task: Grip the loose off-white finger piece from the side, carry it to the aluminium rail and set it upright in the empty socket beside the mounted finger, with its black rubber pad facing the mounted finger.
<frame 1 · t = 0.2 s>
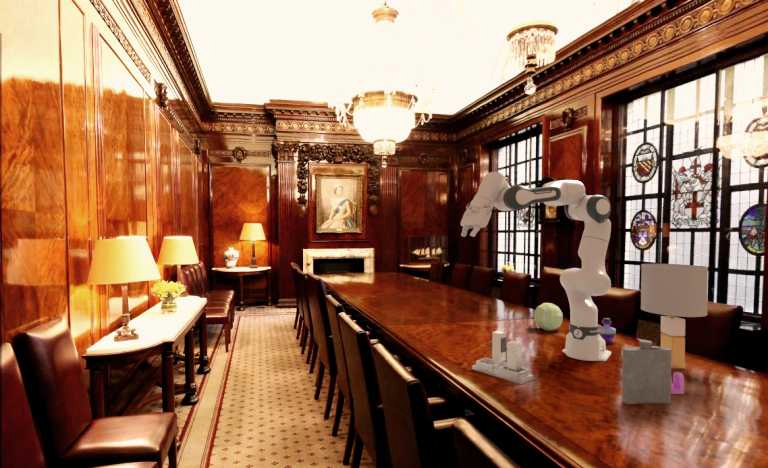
hand: (467, 236, 176), 54 cm above the table, tool tilted 25°, fingers open, 8 cm apart
finger rail: (501, 374, 165), on the table
hip flask: (645, 401, 139), on the table
bracket: (664, 387, 152), on the table
potion bottle: (606, 342, 213), on the table
loose finger: (498, 359, 183), on the table
lamp: (672, 366, 176), on the table
decorative sphere: (548, 330, 238), on the table
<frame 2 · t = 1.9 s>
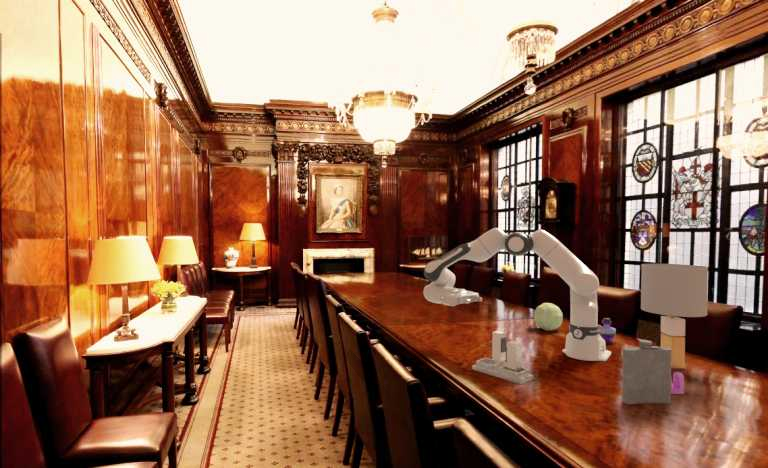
hand: (475, 300, 192), 24 cm above the table, tool horizontal, fingers open, 8 cm apart
nothing on the table moved.
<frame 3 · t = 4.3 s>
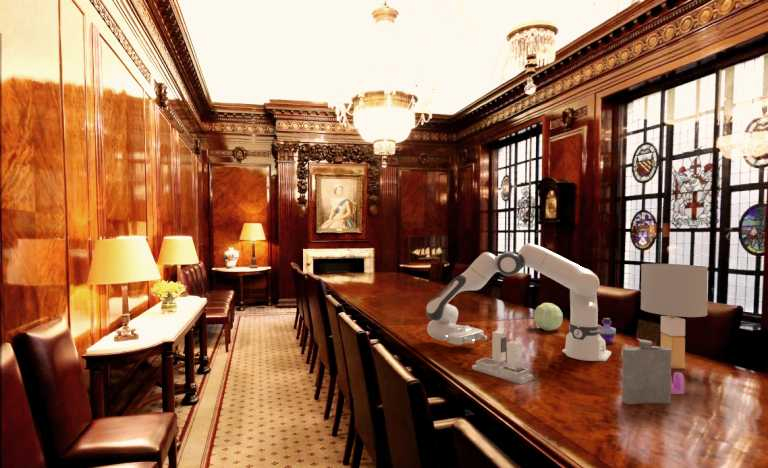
hand: (480, 339, 190), 7 cm above the table, tool horizontal, fingers open, 8 cm apart
nothing on the table moved.
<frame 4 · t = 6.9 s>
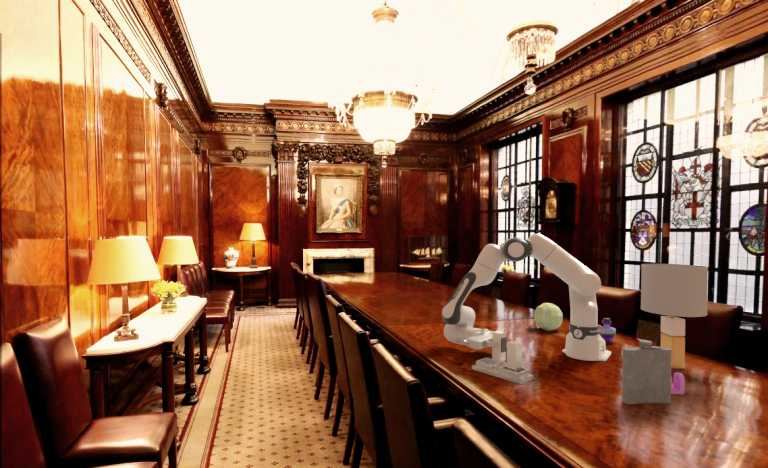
hand: (500, 344, 182), 7 cm above the table, tool horizontal, fingers closed on loose finger, 4 cm apart
loose finger: (498, 359, 183), on the table, touching gripper
everything else where it was.
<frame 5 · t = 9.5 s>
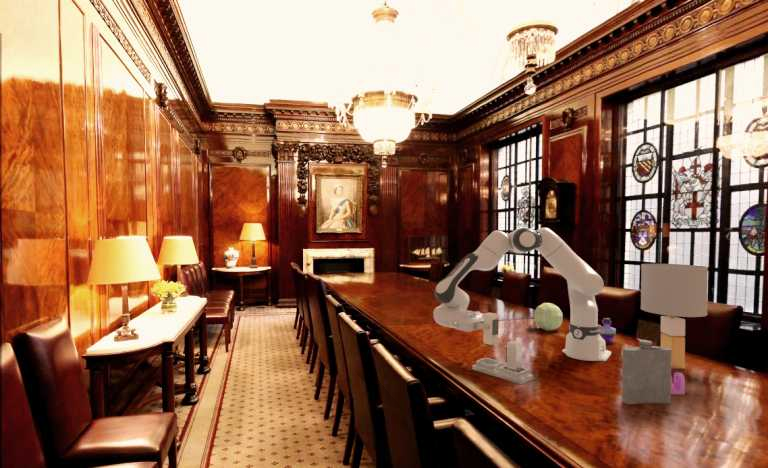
hand: (492, 326, 171), 17 cm above the table, tool horizontal, fingers closed on loose finger, 4 cm apart
loose finger: (490, 343, 171), point 10 cm above the table, touching gripper
everything else where it was.
when the fingers open (9 cm above the table, at t = 12.0 s): loose finger stays where it is, resting on finger rail.
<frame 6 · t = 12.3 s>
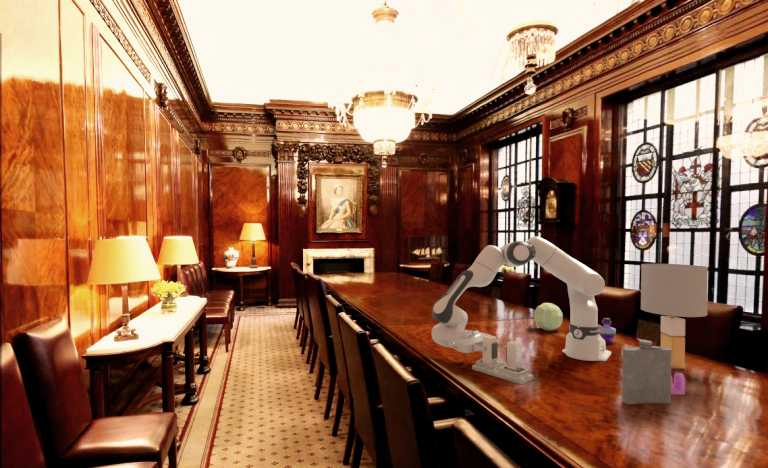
hand: (491, 347, 168), 9 cm above the table, tool horizontal, fingers open, 7 cm apart
loose finger: (489, 366, 169), point 1 cm above the table, touching finger rail
everything else where it was.
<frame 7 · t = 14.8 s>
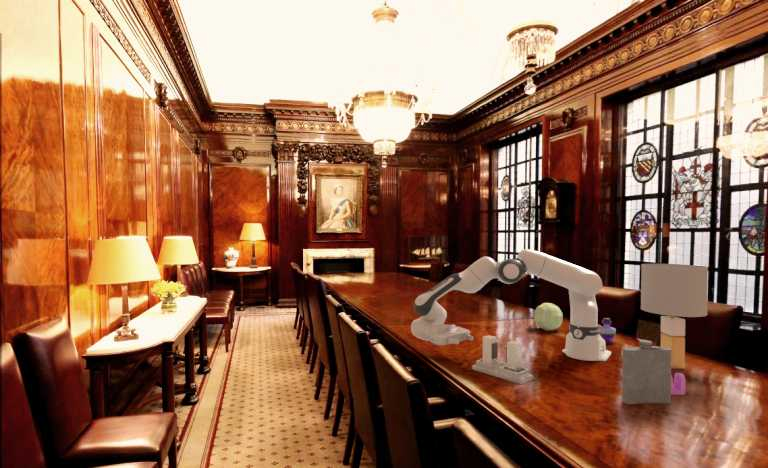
hand: (465, 340, 177), 10 cm above the table, tool horizontal, fingers open, 8 cm apart
nothing on the table moved.
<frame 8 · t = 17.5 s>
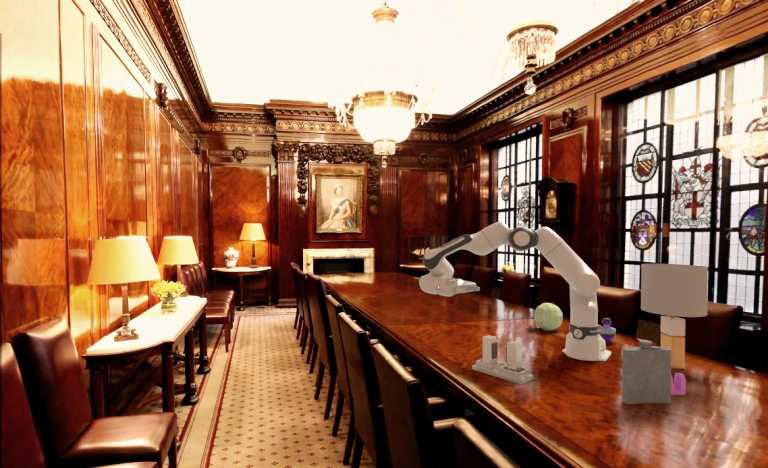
hand: (472, 290, 185), 30 cm above the table, tool horizontal, fingers open, 8 cm apart
nothing on the table moved.
at the end: loose finger 0.3 cm from the target spot on the finger rail, point 1.5 cm above the finger rail's base; loose finger tilted 0°; the gripper is holding nothing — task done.
